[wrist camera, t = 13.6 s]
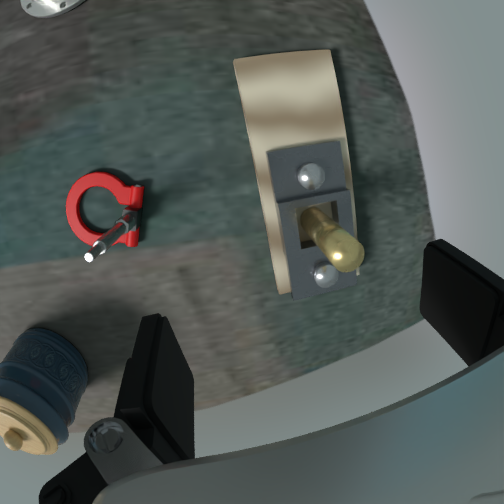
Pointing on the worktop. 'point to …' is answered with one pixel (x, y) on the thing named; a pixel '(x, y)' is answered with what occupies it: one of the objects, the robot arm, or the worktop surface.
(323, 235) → the pin
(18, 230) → the worktop surface
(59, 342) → the canister
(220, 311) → the worktop surface
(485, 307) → the robot arm
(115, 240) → the tow hook
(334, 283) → the riveted slotted plate
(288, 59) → the jig board
